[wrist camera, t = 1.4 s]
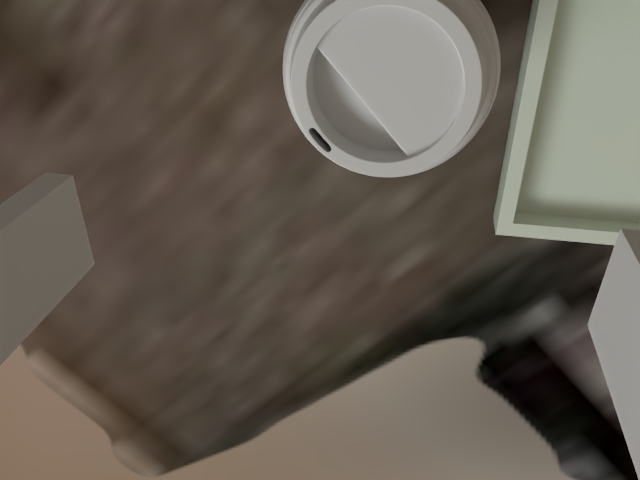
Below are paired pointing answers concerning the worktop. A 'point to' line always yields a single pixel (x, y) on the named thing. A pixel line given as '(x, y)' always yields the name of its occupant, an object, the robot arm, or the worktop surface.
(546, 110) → the tray
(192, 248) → the worktop surface
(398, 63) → the coffee cup
